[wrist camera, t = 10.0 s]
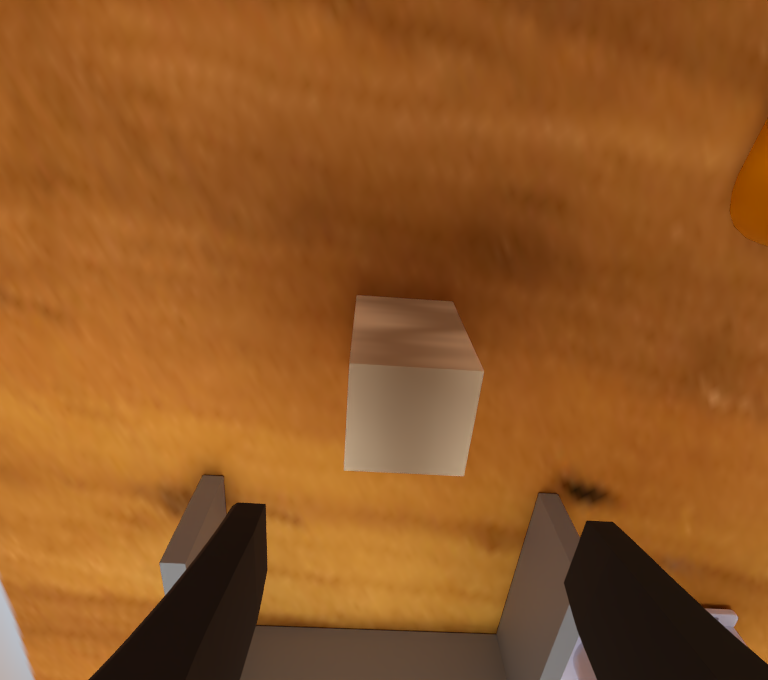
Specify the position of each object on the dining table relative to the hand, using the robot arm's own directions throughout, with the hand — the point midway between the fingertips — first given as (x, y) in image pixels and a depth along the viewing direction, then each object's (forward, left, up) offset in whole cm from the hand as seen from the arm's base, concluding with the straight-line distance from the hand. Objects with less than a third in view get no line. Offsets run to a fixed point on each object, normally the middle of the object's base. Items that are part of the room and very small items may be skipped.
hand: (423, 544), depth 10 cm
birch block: (0, 0, -10) cm, 11 cm away
